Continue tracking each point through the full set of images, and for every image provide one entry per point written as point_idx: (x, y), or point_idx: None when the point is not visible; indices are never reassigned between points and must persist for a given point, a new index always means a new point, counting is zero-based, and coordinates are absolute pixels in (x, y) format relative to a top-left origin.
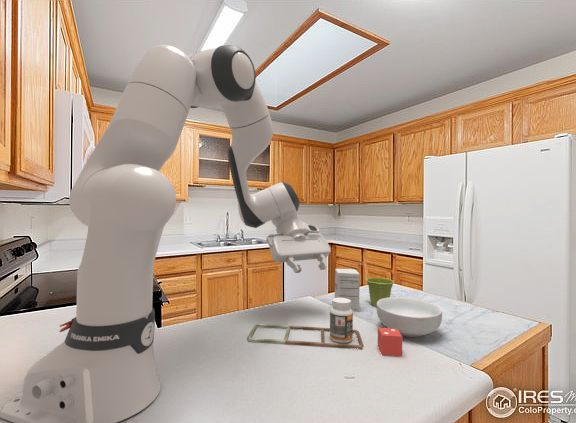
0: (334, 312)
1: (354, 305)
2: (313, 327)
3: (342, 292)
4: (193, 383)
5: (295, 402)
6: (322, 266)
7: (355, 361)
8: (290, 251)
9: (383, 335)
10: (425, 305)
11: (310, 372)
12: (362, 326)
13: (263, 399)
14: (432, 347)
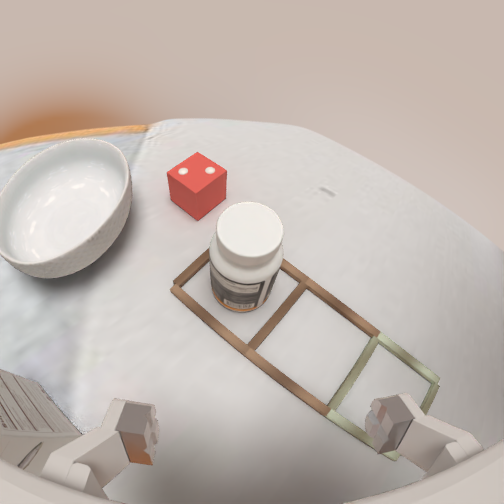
0: (281, 245)
1: (37, 390)
2: (268, 369)
3: (39, 421)
4: (497, 289)
5: (410, 200)
6: (153, 411)
7: (287, 210)
8: (501, 469)
9: (224, 169)
10: (8, 196)
11: (374, 229)
12: (125, 306)
13: (439, 222)
14: None
